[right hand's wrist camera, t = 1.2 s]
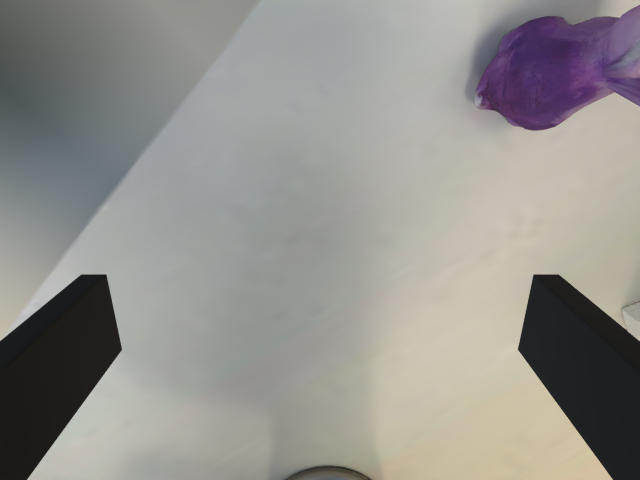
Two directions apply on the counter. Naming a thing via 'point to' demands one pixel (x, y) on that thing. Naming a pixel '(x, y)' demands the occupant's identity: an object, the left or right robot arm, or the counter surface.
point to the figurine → (561, 68)
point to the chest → (632, 319)
